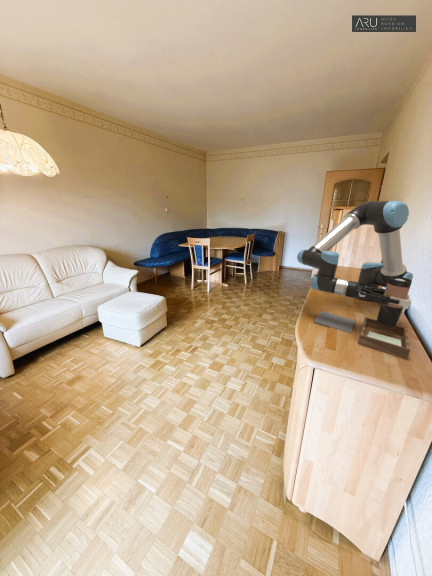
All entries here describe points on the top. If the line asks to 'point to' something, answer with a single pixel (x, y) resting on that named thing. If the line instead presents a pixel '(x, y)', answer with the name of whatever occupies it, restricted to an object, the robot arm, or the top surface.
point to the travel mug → (396, 289)
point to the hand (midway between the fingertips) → (408, 301)
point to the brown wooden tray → (383, 345)
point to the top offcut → (384, 338)
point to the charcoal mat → (335, 321)
